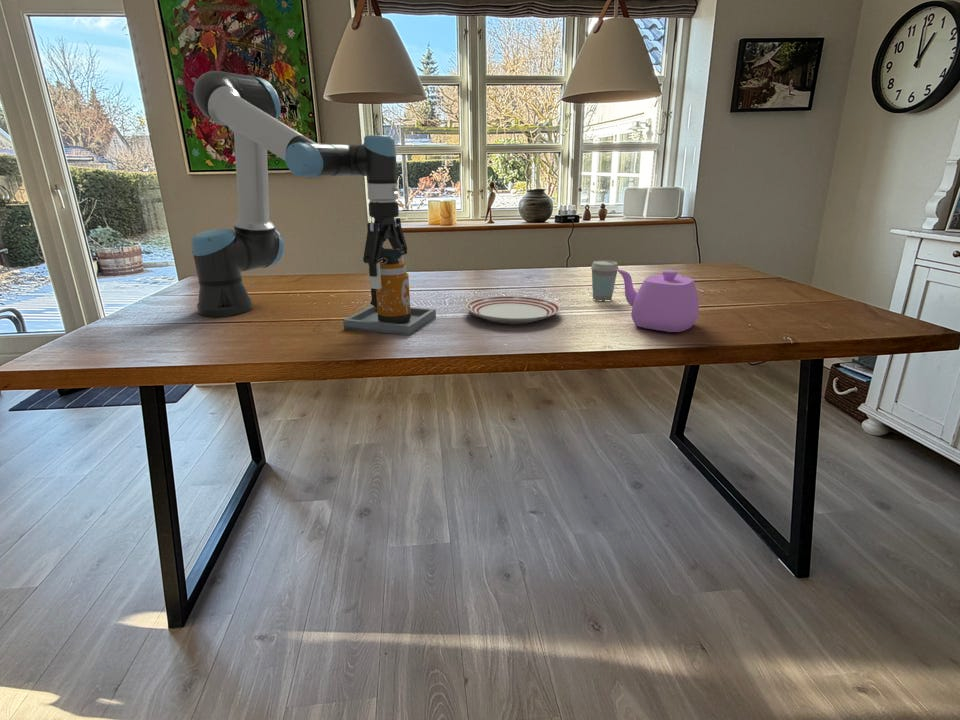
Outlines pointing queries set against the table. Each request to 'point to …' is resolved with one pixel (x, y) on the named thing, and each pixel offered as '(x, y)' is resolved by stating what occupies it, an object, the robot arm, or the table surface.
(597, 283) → the coffee cup
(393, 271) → the canister
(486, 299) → the dinner plate
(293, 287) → the table surface
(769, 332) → the table surface
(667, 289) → the teapot
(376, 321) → the tray
